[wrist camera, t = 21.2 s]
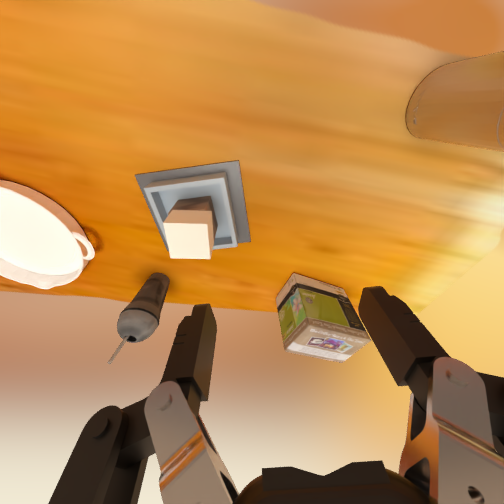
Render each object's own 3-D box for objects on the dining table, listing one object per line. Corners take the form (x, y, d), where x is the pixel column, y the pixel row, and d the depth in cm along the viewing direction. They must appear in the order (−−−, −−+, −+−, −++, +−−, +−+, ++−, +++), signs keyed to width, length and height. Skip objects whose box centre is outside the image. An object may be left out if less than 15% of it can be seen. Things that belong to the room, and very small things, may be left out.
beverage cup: (170, 294, 52) (136, 379, 36) (141, 285, 50) (90, 370, 34) (179, 274, 49) (145, 358, 32) (147, 264, 47) (93, 347, 30)
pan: (-91, 162, 34) (-127, 168, 31) (83, 179, 36) (67, 186, 33) (-4, 275, 48) (-22, 287, 44) (119, 282, 50) (110, 294, 47)
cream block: (211, 210, 32) (207, 224, 28) (213, 243, 36) (210, 258, 32) (172, 209, 32) (163, 222, 28) (178, 242, 35) (170, 258, 32)
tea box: (274, 298, 54) (282, 352, 42) (293, 271, 49) (309, 324, 37) (322, 311, 58) (342, 365, 46) (344, 287, 53) (374, 341, 40)
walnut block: (210, 195, 37) (205, 208, 32) (217, 225, 40) (214, 241, 35) (178, 199, 37) (167, 213, 32) (188, 229, 40) (180, 245, 36)
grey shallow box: (238, 160, 35) (237, 165, 31) (250, 240, 44) (251, 251, 40) (135, 174, 36) (124, 181, 32) (168, 250, 45) (162, 261, 41)
